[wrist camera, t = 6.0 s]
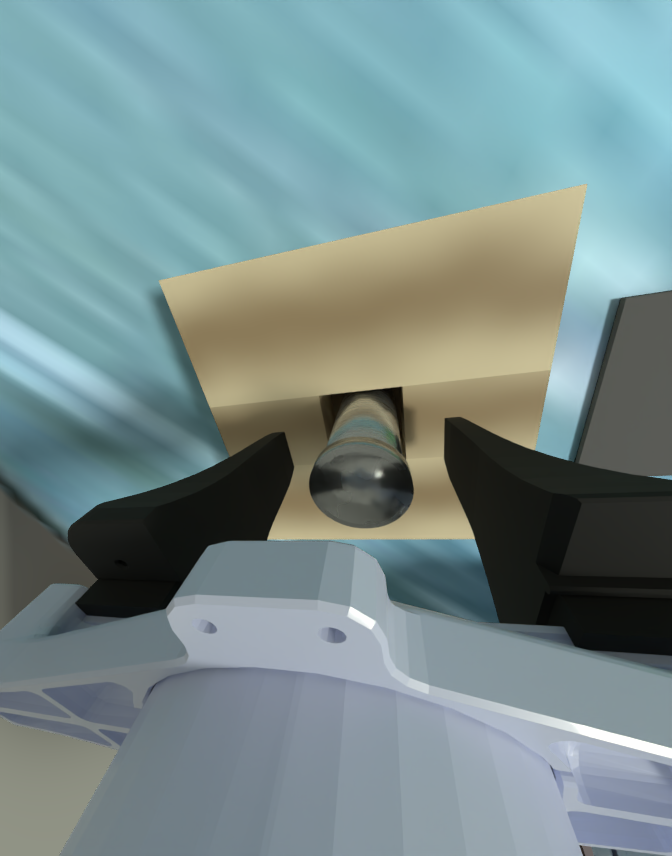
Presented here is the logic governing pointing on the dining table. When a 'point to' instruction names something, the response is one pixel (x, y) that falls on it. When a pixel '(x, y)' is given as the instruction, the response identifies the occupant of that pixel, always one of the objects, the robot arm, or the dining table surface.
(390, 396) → the pin
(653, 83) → the dining table surface
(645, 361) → the mat
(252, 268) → the socket block
